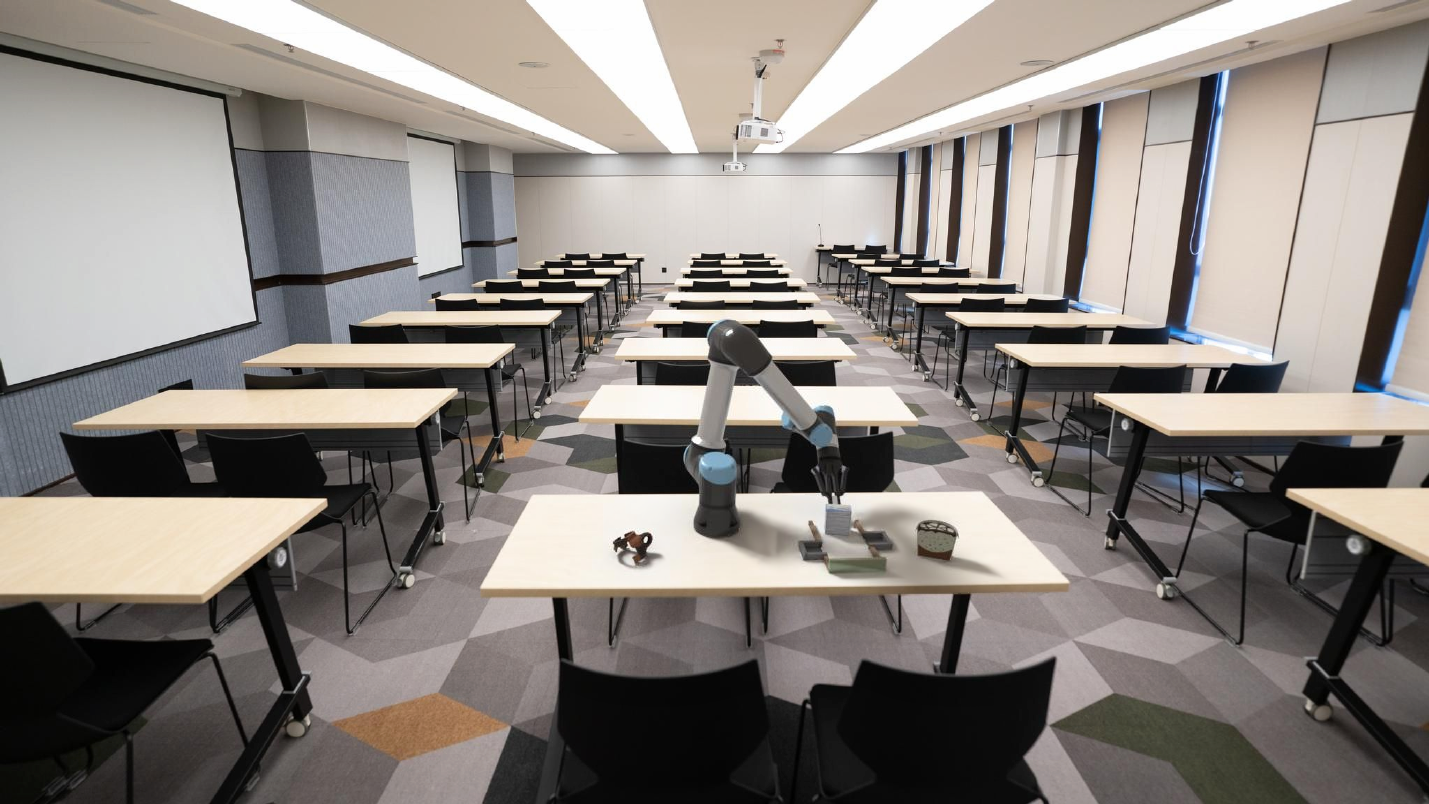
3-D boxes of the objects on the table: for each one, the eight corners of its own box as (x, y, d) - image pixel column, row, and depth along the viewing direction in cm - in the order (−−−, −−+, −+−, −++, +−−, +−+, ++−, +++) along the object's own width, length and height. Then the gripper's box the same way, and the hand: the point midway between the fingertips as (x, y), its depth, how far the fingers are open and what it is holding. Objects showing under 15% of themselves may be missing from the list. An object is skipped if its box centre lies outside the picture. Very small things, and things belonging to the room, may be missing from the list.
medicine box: (848, 529, 218) (850, 504, 216) (849, 535, 214) (852, 511, 211) (823, 527, 219) (825, 503, 216) (824, 534, 215) (826, 509, 212)
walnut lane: (808, 524, 221) (808, 513, 219) (857, 523, 222) (858, 512, 220) (828, 573, 193) (829, 560, 192) (885, 571, 194) (886, 559, 193)
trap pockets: (794, 538, 212) (795, 532, 211) (884, 536, 214) (884, 530, 213) (803, 560, 199) (803, 554, 198) (897, 558, 201) (898, 552, 200)
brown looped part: (628, 569, 194) (615, 543, 194) (617, 568, 202) (605, 543, 202) (662, 548, 199) (650, 523, 199) (651, 548, 208) (639, 524, 208)
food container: (955, 552, 205) (959, 523, 202) (955, 562, 199) (959, 532, 196) (913, 545, 209) (916, 516, 206) (912, 555, 203) (915, 525, 200)
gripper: (843, 453, 235) (852, 519, 225) (806, 453, 234) (814, 520, 224) (849, 444, 229) (858, 512, 218) (811, 445, 228) (818, 513, 217)
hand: (836, 516), depth 221 cm, fingers closed
